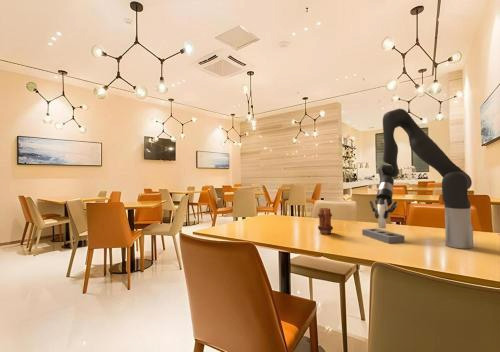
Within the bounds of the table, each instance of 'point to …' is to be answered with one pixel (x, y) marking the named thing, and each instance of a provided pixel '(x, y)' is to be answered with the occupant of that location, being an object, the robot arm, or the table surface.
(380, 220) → the plug
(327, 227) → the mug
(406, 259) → the table surface
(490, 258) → the table surface
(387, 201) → the robot arm
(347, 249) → the table surface
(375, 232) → the gray slotted tray
